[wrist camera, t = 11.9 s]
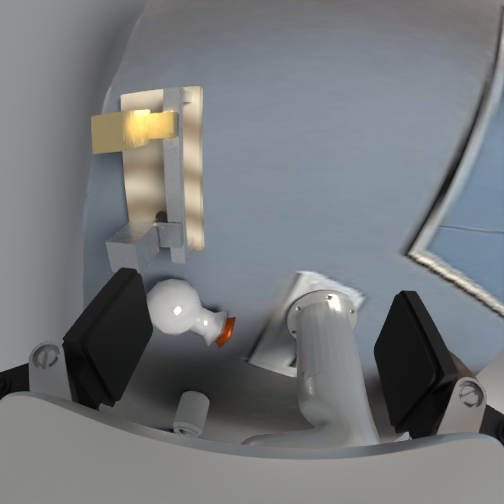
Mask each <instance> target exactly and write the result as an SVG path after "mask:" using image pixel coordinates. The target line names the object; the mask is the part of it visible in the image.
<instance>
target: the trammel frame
mask: <svg viewBox="0 0 504 504" xmlns="http://www.w3.org/2000/svg"><path fill="white" fill-rule="evenodd" d="M191 102H192V92H191V91H186V90H184V88H181V87H175V88H165V89H163V112H177V137H175V138H163V147H164V172H165V190H166V205H167V217H168V223H162V220H161V219H160V218H156V219H155V220H154V221H153V222H152V223H150V222H128V223H127V224H126V225H124V226H123V227H122V228H121V229H120V230H118V231H117V232H116V233H115V234H114V235H113V236H111V237H110V238H109V239H108V240H107V241H106V247H107V252H108V256H109V261H110V265H111V270H112V272H117V271H118V270H119V269H120V268H121V267H125V268H133V269H136V270H137V272H138V273H140V274H142V273H143V272H144V270H145V269H146V268H147V266H148V265H149V264H150V262H151V261H152V260H153V259H154V257H155V256H156V255H157V254H158V252H159V247H170V249H171V257H172V263H181V264H186V262H187V261H188V259H189V256H190V254H191V252H192V251H193V249H194V247H195V237H190V236H187V228H186V211H185V191H184V160H183V103H191Z"/></svg>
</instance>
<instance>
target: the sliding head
mask: <svg viewBox="0 0 504 504" xmlns="http://www.w3.org/2000/svg"><path fill="white" fill-rule="evenodd" d="M91 129H92V146H93V154H99V153H109V152H120V151H126V150H129V149H133V148H136V147H139V146H142V145H146V144H149V143H150V139H158V138H175V137H177V112H163V113H152V114H150V110H131V111H120V112H114V113H108V114H102V115H97V116H92V117H91Z"/></svg>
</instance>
